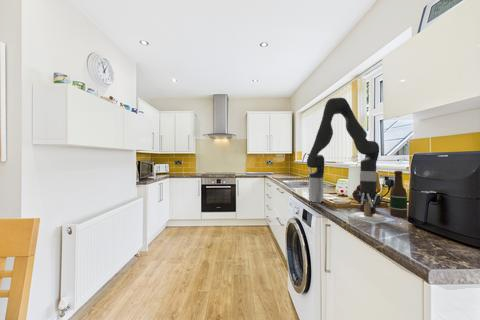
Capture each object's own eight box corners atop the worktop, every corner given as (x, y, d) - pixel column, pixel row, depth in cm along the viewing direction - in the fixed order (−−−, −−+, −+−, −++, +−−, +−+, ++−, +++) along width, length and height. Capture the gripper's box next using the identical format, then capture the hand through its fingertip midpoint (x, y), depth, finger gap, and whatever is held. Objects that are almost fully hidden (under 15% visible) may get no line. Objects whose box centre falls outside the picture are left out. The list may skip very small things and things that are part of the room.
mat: (342, 215, 118) (342, 214, 118) (363, 212, 124) (363, 211, 124) (373, 225, 101) (373, 223, 101) (396, 221, 107) (396, 219, 107)
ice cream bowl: (348, 209, 133) (347, 184, 133) (360, 207, 137) (360, 183, 137) (364, 213, 123) (364, 186, 123) (377, 210, 128) (377, 185, 128)
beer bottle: (393, 214, 120) (393, 170, 120) (410, 217, 114) (410, 171, 114) (386, 216, 116) (386, 170, 116) (403, 219, 110) (403, 171, 109)
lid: (346, 215, 116) (346, 202, 116) (365, 212, 122) (365, 200, 121) (371, 222, 103) (371, 208, 103) (391, 219, 109) (391, 205, 108)
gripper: (351, 178, 117) (351, 210, 118) (376, 181, 104) (376, 217, 104) (361, 178, 120) (361, 209, 120) (387, 180, 107) (387, 215, 107)
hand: (368, 213), depth 112 cm, fingers open, 4 cm apart
